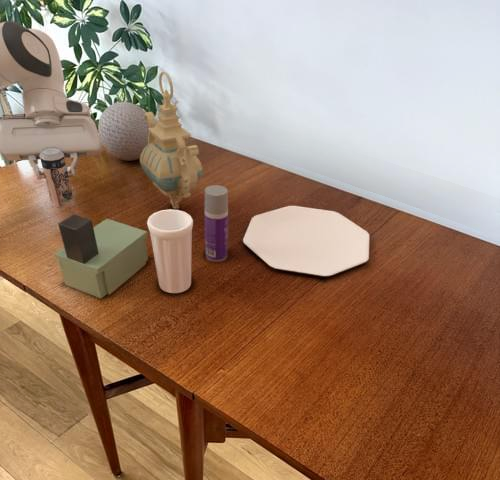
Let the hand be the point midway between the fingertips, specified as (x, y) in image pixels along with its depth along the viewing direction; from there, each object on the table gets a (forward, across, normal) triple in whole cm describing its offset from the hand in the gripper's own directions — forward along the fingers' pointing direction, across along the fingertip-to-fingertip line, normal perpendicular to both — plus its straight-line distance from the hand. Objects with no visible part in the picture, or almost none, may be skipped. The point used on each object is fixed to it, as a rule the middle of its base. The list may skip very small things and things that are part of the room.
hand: (56, 177), depth 99 cm
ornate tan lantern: (+6, +25, +10) cm, 27 cm away
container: (+22, +30, -6) cm, 38 cm away
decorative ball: (-16, +17, +32) cm, 40 cm away
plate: (+21, +52, -6) cm, 56 cm away
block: (+20, +4, -15) cm, 26 cm away
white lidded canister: (+4, 0, +5) cm, 7 cm away
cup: (+28, +20, -12) cm, 36 cm away
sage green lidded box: (+23, +8, -7) cm, 25 cm away
